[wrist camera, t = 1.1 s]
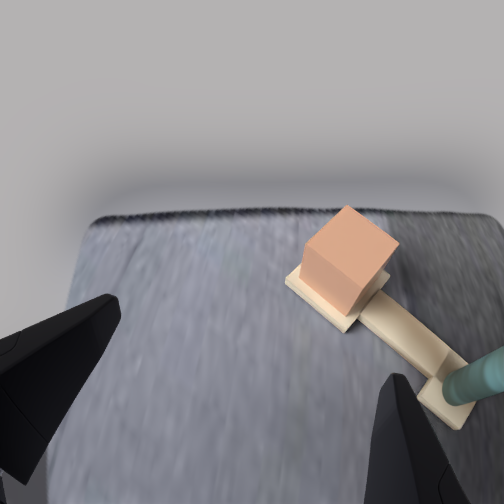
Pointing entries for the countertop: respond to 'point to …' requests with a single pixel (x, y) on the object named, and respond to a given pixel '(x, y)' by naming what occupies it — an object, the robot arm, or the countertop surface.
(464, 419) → the pull strip
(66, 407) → the robot arm
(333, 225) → the terracotta cube
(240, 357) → the countertop surface
